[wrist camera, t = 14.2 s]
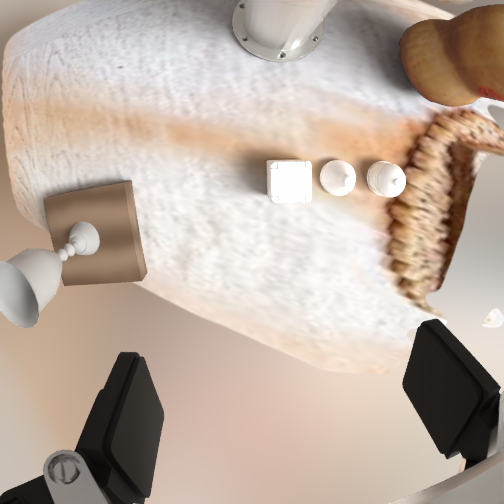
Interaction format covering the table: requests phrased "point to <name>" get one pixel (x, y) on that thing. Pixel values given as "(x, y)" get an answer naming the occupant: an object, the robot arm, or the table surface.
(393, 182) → the container set
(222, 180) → the table surface
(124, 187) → the walnut plinth
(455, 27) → the butternut squash
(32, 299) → the chalice
